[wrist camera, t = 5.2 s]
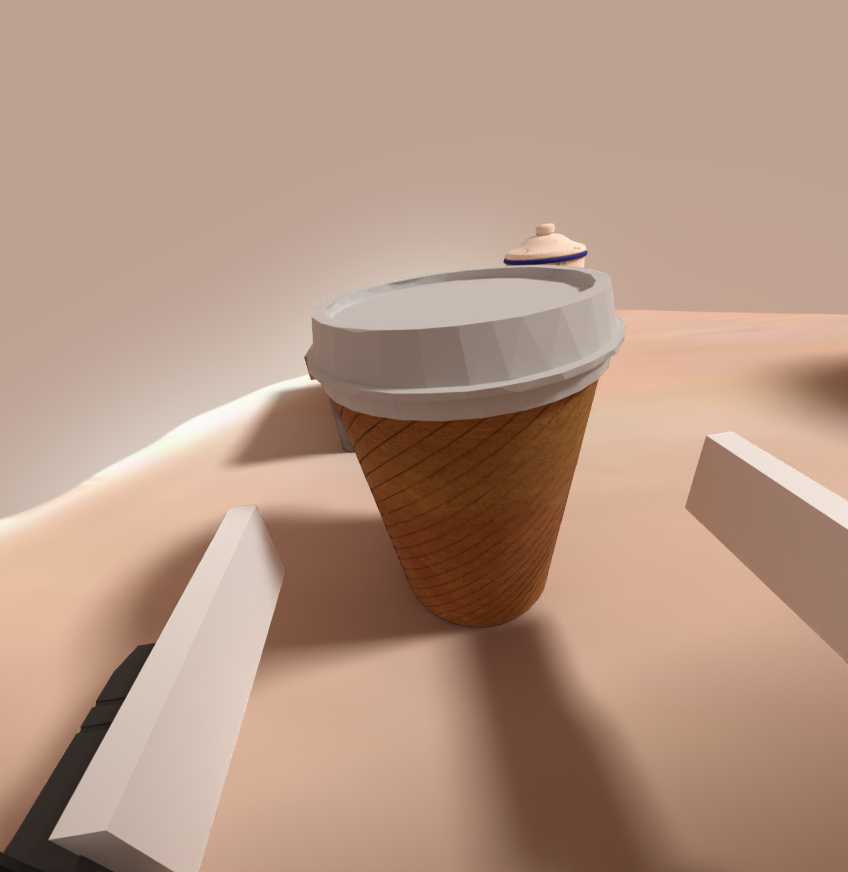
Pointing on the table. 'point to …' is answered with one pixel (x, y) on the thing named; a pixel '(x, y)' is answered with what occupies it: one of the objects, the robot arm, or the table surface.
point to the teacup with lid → (547, 250)
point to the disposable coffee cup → (470, 419)
